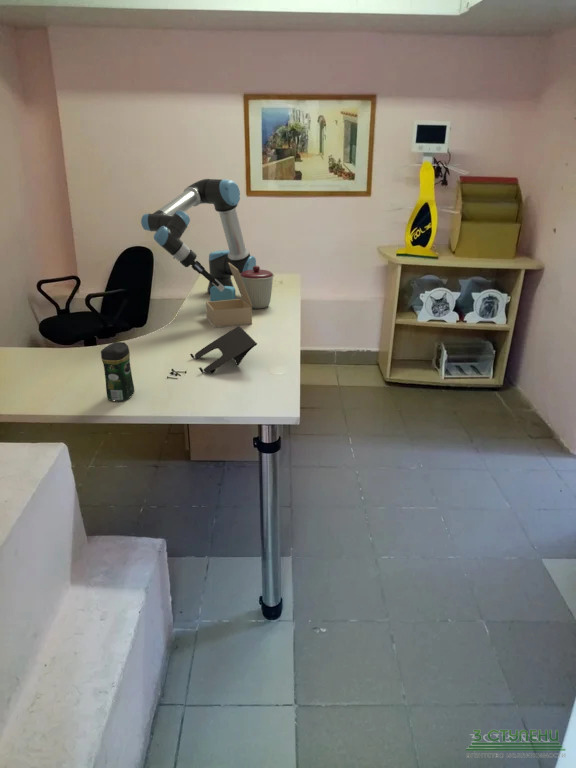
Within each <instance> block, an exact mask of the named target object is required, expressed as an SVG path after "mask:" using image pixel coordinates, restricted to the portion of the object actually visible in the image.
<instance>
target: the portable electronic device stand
mask: <svg viewBox="0 0 576 768" xmlns="http://www.w3.org/2000/svg"><path fill="white" fill-rule="evenodd" d="M257 345H258V343H257V342H256V341H255V340H254V338H252V337H251V336H250V335H249V334H248V333H247V331H245V330H244V329H243V327H241V325H236V326H235V327H234V328H233V329H231V330H229V331H228V332H226V333H224V334H223V335H221V336H220V337H218V338H216V339H214V341H212V342H210V343H209V344H207V345H206V346H204V347H203V348H201V349H200V350H198V351H197V352H196V353H195V354H194V355H193V353H190V357H191V358H192V360H197V359H199V358H201V357H202V356H205V355H207V354H209V353H210V352H212V351H214V350H216V349H218V350H219V352H220V353H221V354H222V355H221V356H220V357H218V358H217V359H215V360H214V361H213V362H211V363H210V364H208V365H206V367H205V368H202V367H199V372H201V373H202V374H203V373H205V374H207V373H210V374H215V372H216V371H217V369H218V368H220V367H222V366H223V365H225V364H227V363H228V362H230V361H231V360H234V362H235V363H237V364H236V366H237V365H238V366H239V365H240V364H241V363H242V360H244V358H245V356H247V354H249V352H250V350H252V349H254V347H256V346H257Z"/></svg>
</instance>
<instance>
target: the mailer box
mask: <svg viewBox="0 0 576 768" xmlns="http://www.w3.org/2000/svg"><path fill="white" fill-rule="evenodd" d="M205 305H206V307H205V308H206V319H207V320H208V321H209V323H210V324H211V325H212V326H213V328H214V329H215V328H223V327H232V326H235V327H237V326H244V325H252V324H253V308H252V307H251V306H250V305H249V304H248V303H246V302H245V301H244V300H243V298H236V299H234V300H223V301H211V300H210V301H206V302H205Z"/></svg>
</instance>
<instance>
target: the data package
mask: <svg viewBox="0 0 576 768" xmlns="http://www.w3.org/2000/svg"><path fill="white" fill-rule="evenodd" d="M224 287H225V289H224V290H223V291H222V292H221V291H220V290H219V289H218V288H216V287H215V286H213V287H211V288H210V294H209V298H210V302H211V301H223V300H234V299H237V298H236V294H237V293H236V288H235V286H234V287H232V286H224Z"/></svg>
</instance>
